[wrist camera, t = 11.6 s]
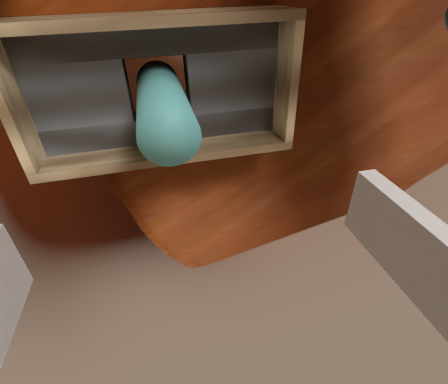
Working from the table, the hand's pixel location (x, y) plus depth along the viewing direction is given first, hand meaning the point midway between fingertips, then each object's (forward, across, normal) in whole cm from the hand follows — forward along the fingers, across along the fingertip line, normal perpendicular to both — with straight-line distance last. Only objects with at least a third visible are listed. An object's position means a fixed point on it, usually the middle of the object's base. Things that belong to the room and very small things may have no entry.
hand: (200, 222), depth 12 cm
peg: (+23, -1, 0) cm, 23 cm away
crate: (+23, -1, 0) cm, 23 cm away
